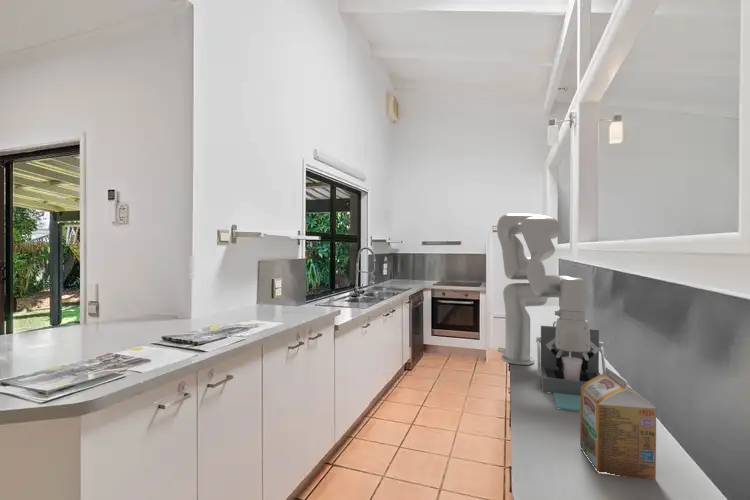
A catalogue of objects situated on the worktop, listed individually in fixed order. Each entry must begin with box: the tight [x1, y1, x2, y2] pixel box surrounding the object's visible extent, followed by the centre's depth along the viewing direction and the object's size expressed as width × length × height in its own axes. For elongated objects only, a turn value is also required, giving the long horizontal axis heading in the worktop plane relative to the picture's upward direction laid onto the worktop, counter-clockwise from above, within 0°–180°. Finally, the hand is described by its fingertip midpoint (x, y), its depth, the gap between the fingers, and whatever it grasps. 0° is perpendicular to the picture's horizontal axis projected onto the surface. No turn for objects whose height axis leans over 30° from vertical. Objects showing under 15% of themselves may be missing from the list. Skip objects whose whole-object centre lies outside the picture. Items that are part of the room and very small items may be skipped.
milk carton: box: [579, 366, 657, 481], centre depth 85 cm, size 11×11×19 cm
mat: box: [553, 393, 581, 413], centre depth 117 cm, size 12×12×1 cm
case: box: [536, 325, 606, 396], centre depth 131 cm, size 21×15×18 cm
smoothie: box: [562, 351, 583, 381], centre depth 130 cm, size 6×6×14 cm
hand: (571, 369), depth 130 cm, fingers closed on smoothie, 6 cm apart
